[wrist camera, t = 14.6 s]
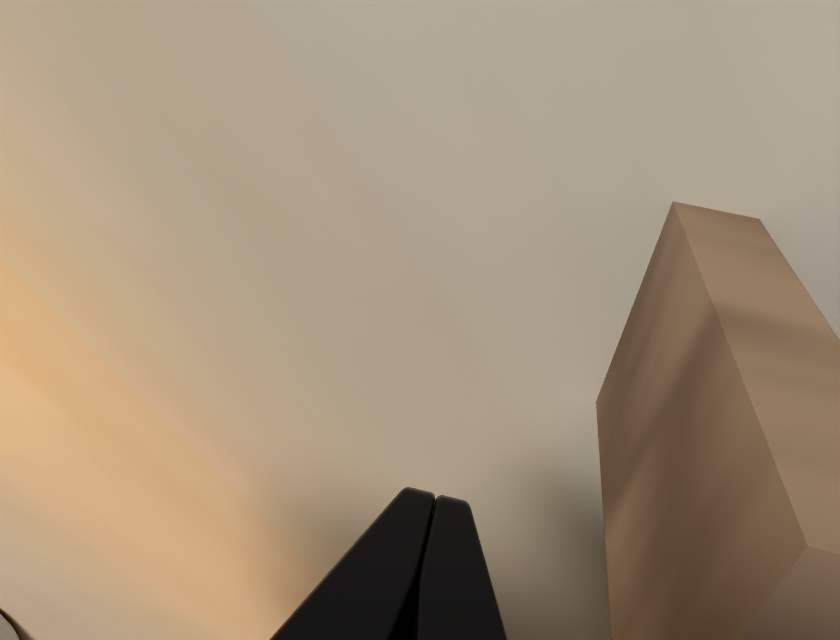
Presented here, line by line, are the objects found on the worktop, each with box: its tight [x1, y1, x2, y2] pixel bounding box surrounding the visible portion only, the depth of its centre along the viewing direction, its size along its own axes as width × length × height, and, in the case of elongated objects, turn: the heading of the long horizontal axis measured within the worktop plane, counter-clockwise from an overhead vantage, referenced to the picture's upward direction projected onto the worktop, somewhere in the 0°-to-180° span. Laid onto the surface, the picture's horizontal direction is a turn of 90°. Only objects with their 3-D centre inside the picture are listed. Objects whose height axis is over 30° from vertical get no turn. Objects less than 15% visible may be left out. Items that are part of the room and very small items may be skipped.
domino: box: [596, 202, 840, 640], centre depth 10 cm, size 5×2×8 cm, turn 172°
